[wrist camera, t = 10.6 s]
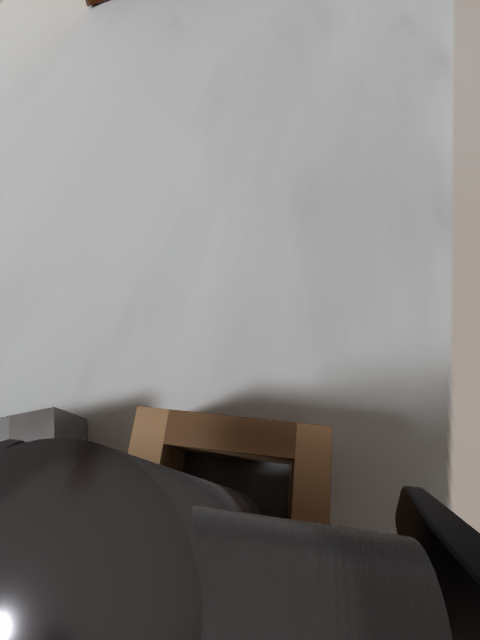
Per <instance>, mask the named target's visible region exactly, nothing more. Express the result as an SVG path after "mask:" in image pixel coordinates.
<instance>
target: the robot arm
mask: <svg viewBox="0 0 480 640" xmlns="http://www.w3.org/2000/svg"><path fill="white" fill-rule="evenodd" d="M24 442H25V441H23V440H16V439H7V440H4V441H0V450H3V449H5V448H8V447H11V446H14V445H17V444H20V443H24ZM395 521H396V528H397V534H398V535H402V536H409V537H413V538H415V539H416V540H417V541H418V542H419V543H420V544H421V545H422V547H423V548H424V550H425V551H426V553H427V555H428V557H429V559H430V561H431V563H432V566H433V568H434V571H435V573H436V576H437V579H438V582H439V585H440V588H441V592H442V595H443V598H444V602H445V606H446V610H447V614H448V618H449V623H450V628H451V633H452V638H453V640H480V533H479V532H477V531H476V530H475V529H474V528H472V527H471V526H470V525H468V524H467V523H466V522H465V521H463V520H462V519H461V518H459V517H458V516H457V515H456V514H455V513H453V512H452V511H451V510H449V509H448V508H447V507H446V506H444V505H443V504H442V503H441V502H439V501H438V500H437V499H436V498H434V497H433V496H432V495H430V494H429V493H428V492H427V491H425V490H424V489H422V488H420V487H412V486H404V487H403V488H402V490H401V493H400V497H399V501H398V506H397V510H396V516H395Z"/></svg>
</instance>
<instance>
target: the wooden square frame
mask: <svg viewBox="0 0 480 640" xmlns="http://www.w3.org/2000/svg"><path fill="white" fill-rule="evenodd" d="M331 446H332V426H324V425H315V424H305V423H295V422H286V421H276V420H266V419H257V418H247V417H237V416H228V415H218V414H208V413H199V412H189V411H179V410H170V409H160V408H150V407H141V406H137V410H136V414H135V419H134V424H133V429H132V434H131V439H130V443H129V448H128V453H127V454H130V455H133V456H136V457H139V458H142V459H145V460H148V461H151V462H154V463H157V464H160V465H163V466H166V467H169V468H171V469H174V470H177V471H180V472H183V467H184V461H185V454H186V453H194V454H203V455H211V456H220V457H229V458H237V459H246V460H255V461H263V462H272V463H281V464H289V465H290V475H289V491H288V507H287V519H293V520H299V521H306V522H313V523H320V524H327V525H329V522H330V484H331Z"/></svg>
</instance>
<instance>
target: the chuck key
mask: <svg viewBox="0 0 480 640" xmlns="http://www.w3.org/2000/svg"><path fill="white" fill-rule="evenodd" d="M0 640H453V638H452V633H451V628H450V623H449V618H448V614H447V610H446V606H445V602H444V598H443V595H442V592H441V588H440V585H439V582H438V579H437V576H436V573H435V571H434V568H433V566H432V563H431V561H430V559H429V557H428V555H427V553H426V551H425V550H424V548H423V547H422V545H421V544H420V543H419V542H418V541H417V540H416V539H415V538H413V537H409V536H402V535H395V534H388V533H381V532H374V531H368V530H361V529H354V528H347V527H340V526H334V525H327V524H320V523H313V522H306V521H299V520H293V519H286V518H279V517H272V516H265V515H260V513H259V510H258V508H257V506H256V504H255V503H254V502H253V500H252V499H251V498H250V497H248V496H247V495H246V494H244V493H242V492H239V491H236V490H233V489H230V488H228V487H225V486H222V485H219V484H216V483H213V482H210V481H207V480H204V479H201V478H198V477H195V476H192V475H189V474H186V473H183V472H180V471H177V470H174V469H171V468H169V467H166V466H163V465H160V464H157V463H154V462H151V461H148V460H145V459H142V458H139V457H136V456H133V455H130V454H127V453H124V452H121V451H118V450H115V449H113V448H110V447H107V446H104V445H101V444H98V443H94V442H90V441H85V440H80V439H70V438H50V439H38V440H34V441H29V442H24V443H20V444H17V445H14V446H11V447H8V448H5V449H3V450H0Z"/></svg>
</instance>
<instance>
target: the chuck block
mask: <svg viewBox="0 0 480 640" xmlns="http://www.w3.org/2000/svg"><path fill="white" fill-rule="evenodd" d="M50 438H70V439H80V440H85V441H87V419H86V418H83V417H80V416H78V415H75V414H72V413H69V412H67V411H64V410H61V409H58V408H56V407H52V408H47V409H42V410H37V411H32V412H27V413H22V414H17V415H12V416H7V417H2V418H0V441H4V440H7V439H16V440H23V441H25V442H29V441H34V440H38V439H50Z"/></svg>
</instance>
